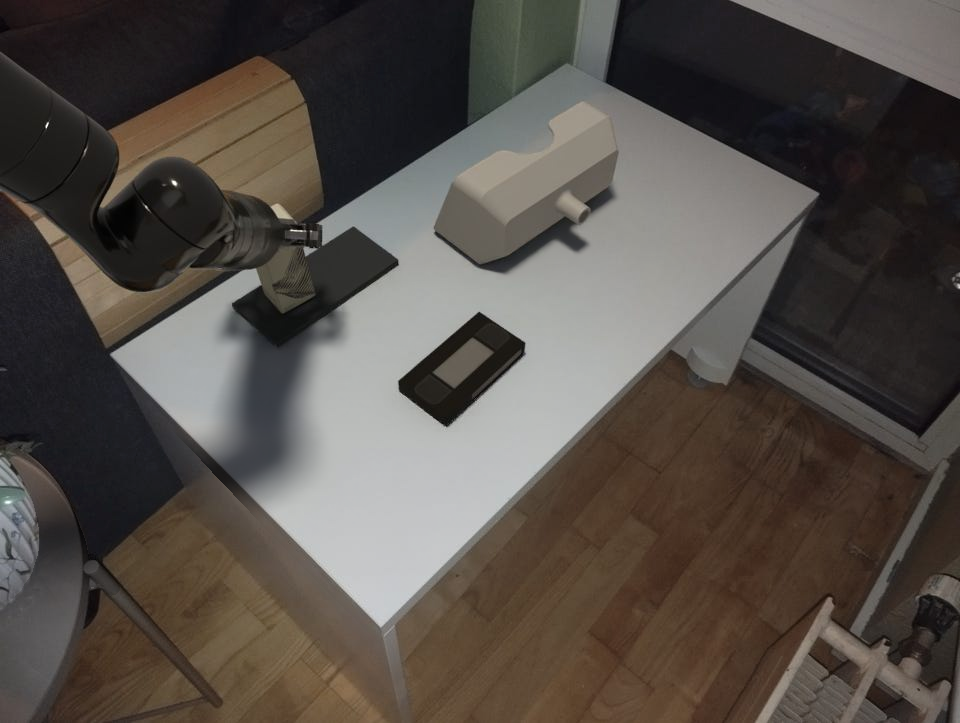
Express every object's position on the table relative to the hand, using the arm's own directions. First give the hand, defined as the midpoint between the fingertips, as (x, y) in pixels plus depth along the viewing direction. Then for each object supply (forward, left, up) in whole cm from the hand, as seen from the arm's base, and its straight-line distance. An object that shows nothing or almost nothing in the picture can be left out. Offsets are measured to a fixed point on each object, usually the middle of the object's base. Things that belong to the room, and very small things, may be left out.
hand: (276, 235), depth 90 cm
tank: (+32, +16, -11) cm, 37 cm away
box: (0, -1, -9) cm, 10 cm away
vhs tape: (+22, -11, -11) cm, 27 cm away
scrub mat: (+3, +2, -10) cm, 11 cm away
